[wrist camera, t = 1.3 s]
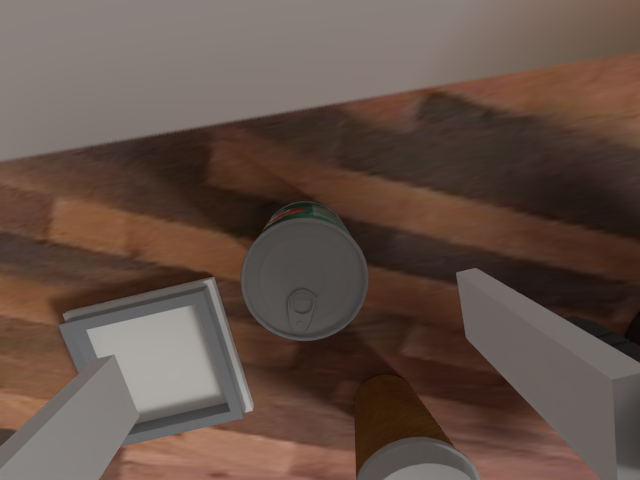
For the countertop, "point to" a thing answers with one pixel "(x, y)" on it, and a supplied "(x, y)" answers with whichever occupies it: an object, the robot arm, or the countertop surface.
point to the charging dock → (166, 356)
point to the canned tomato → (304, 273)
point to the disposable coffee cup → (402, 436)
